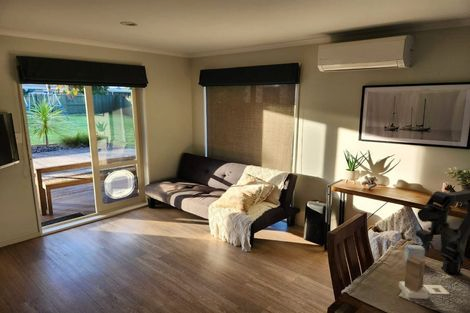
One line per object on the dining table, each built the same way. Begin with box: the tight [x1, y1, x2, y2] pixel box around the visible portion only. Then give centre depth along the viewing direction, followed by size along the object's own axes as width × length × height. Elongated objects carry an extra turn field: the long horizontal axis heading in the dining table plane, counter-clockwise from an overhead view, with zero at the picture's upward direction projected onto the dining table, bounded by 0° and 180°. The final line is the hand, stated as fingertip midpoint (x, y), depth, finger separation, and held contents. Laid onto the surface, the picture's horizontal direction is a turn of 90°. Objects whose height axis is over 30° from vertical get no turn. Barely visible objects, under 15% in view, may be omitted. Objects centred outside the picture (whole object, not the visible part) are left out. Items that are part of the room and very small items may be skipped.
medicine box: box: [403, 244, 426, 263], centre depth 153 cm, size 8×4×9 cm, turn 84°
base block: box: [398, 280, 429, 300], centre depth 130 cm, size 8×8×3 cm
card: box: [423, 284, 450, 295], centre depth 131 cm, size 8×6×1 cm
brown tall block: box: [404, 256, 426, 292], centre depth 128 cm, size 5×5×13 cm
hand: (435, 250), depth 140 cm, fingers open, 9 cm apart
